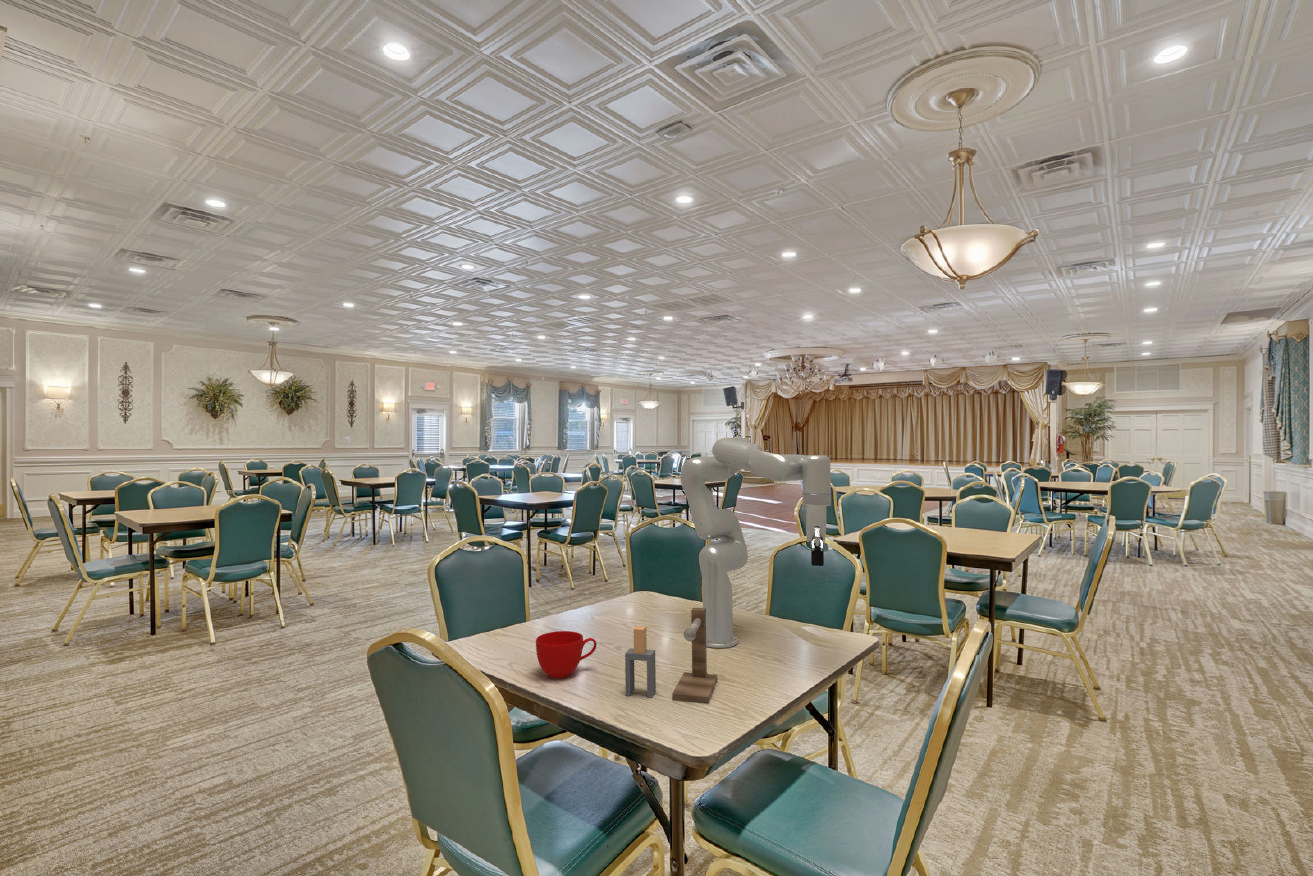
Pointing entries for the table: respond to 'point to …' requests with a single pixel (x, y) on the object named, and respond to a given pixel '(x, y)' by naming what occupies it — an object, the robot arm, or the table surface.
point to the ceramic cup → (561, 652)
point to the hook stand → (696, 664)
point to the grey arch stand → (642, 655)
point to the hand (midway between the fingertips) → (817, 562)
